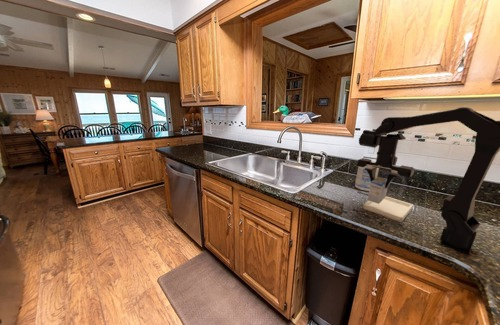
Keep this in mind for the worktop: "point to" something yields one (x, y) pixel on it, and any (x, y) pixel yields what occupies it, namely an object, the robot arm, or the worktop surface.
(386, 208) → the dish
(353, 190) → the worktop surface
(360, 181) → the supplement tub
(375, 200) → the medicine box
